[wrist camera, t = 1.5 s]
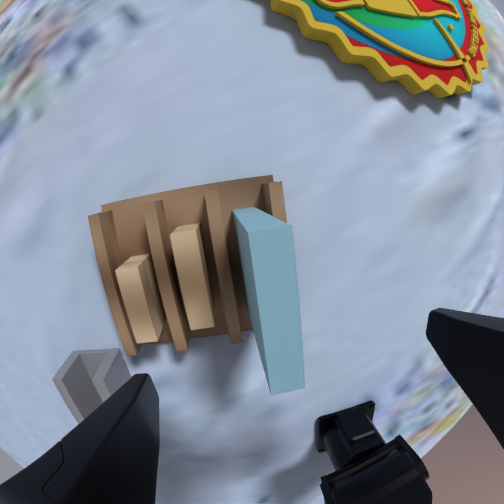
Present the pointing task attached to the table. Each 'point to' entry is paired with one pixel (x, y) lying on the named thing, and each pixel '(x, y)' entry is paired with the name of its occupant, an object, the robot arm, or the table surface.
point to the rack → (159, 246)
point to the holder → (90, 379)
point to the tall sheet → (272, 295)
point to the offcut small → (141, 298)
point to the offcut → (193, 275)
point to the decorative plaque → (400, 39)
